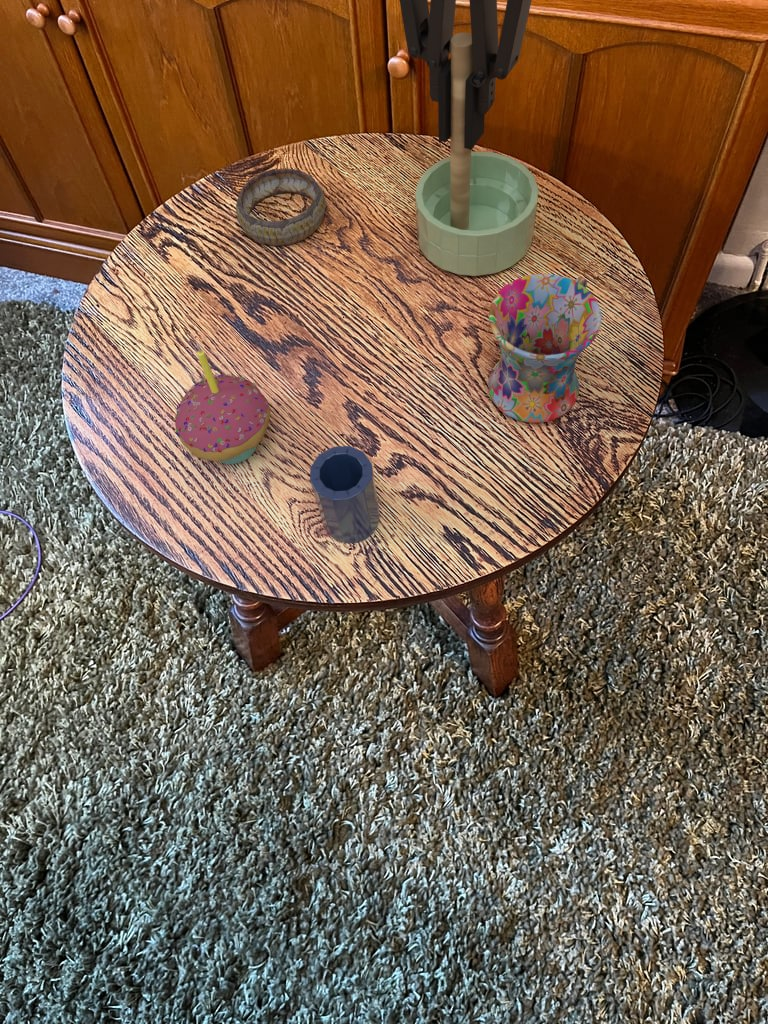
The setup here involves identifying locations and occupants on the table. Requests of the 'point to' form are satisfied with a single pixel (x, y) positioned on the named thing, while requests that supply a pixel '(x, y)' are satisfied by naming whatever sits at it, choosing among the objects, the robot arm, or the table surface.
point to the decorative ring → (273, 185)
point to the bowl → (478, 215)
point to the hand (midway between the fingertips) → (461, 136)
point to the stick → (459, 132)
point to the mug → (540, 344)
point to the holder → (345, 493)
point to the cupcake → (222, 417)
